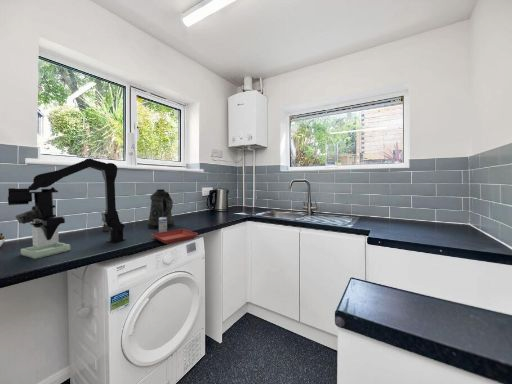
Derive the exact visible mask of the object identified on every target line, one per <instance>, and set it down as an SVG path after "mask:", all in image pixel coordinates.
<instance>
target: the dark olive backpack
mask: <svg viewBox="0 0 512 384" xmlns="http://www.w3.org/2000/svg"><path fill="white" fill-rule="evenodd" d="M149 198H150V199H149V200H150V201H151V202H150V211H149V216H148V219H147V223H146V224H147V227H148V229H152V230H159V218H160V217H166V218H167V229H168V228H173V226H174V224H175V223H174V222H175V220H174V217H173V215H172V209H173V205H174V202H173V199H172V198H171V196H170V193H169V192H167V191H165V189H162V188H160V189H156V191H155V192H154V193H152V194H151V195H150V196H149Z"/></svg>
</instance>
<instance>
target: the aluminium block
mask: <svg viewBox="0 0 512 384" xmlns="http://www.w3.org/2000/svg"><path fill="white" fill-rule="evenodd" d="M31 235H32V237H31V238H32V247H33V246H37V247H40V246H45V245H49V244H54V243H60V241H59V240H60V239H59V238H60V237H59V226H58V227H57V229H56V231H55V233H54V234H53V236H52V238H51V240H47V238H46V234H45V229H44V228H43V227H41V226H31Z"/></svg>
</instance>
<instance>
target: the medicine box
mask: <svg viewBox="0 0 512 384" xmlns="http://www.w3.org/2000/svg"><path fill="white" fill-rule="evenodd" d="M166 231H168V228H167V218H166V217H160V218H159V229H158V233H160V232H166Z"/></svg>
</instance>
